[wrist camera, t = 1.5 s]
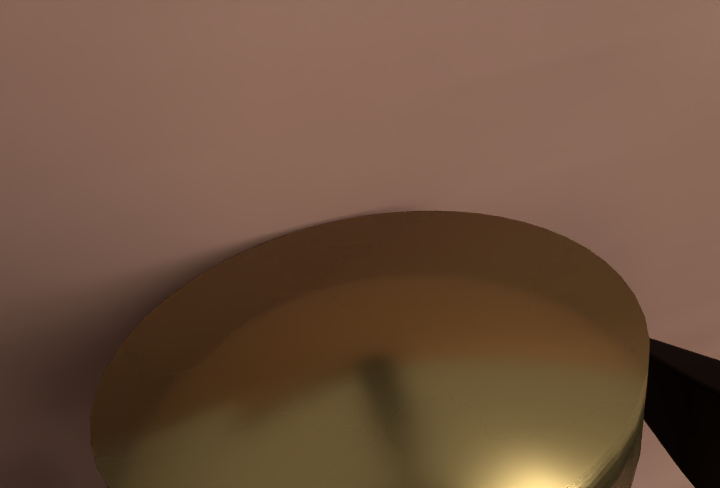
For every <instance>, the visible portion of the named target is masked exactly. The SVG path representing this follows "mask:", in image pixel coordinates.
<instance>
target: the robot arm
mask: <svg viewBox="0 0 720 488" xmlns="http://www.w3.org/2000/svg"><path fill="white" fill-rule="evenodd" d="M649 340H650V347H649V365H648V378H647V388H646V398H645V409H644V420H645V422H646V423H647V425H648V426H649V427H650V429H651V430H652V432H653V433H654V434H655V436H656V437H657V438H658V440H659V441H660V443H661V444H662V445H663V447H664V448H665V450H666V451H667V452H668V454H669V455H670V457H671V458H672V459H673V461H674V462H675V463H676V465H677V466H678V467H679V468H680V470H681V471H682V472H683V474H684V475H685V476H686V477H687V478H688V480H689V481H690V482H691V483H692V484H693V486H694V487H695V488H720V361H719V360H716V359H713V358H710V357H707V356H704V355H701V354H698V353H695V352H692V351H688V350H685V349H682V348H679V347H676V346H673V345H670V344H667V343H664V342H661V341H657V340H654V339H651V338H649Z"/></svg>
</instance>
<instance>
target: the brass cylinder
mask: <svg viewBox="0 0 720 488" xmlns="http://www.w3.org/2000/svg"><path fill="white" fill-rule="evenodd" d="M649 347H650V340H649V335H648V330H647V325H646V320H645V316H644V314H643V312H642V310H641V307H640V305H639V303H638V301H637V299H636V296H635V295H634V293H633V292H632V291H631V289H630V288H629V287H628V285H627V284H626V283H625V281H624V280H623V278H622V277H621V276H620V275H619V274H618V273H617V272H616V271H615V270H614V269H613V268H612V267H610V266H609V265H608V264H607V263H606V262H605V261H604V260H603V259H601V258H600V257H598V256H597V255H595V254H594V253H593V252H591V251H590V250H588V249H587V248H585V247H583V246H582V245H580V244H578V243H576V242H574V241H572V240H570V239H569V238H567V237H564V236H562V235H559V234H557V233H555V232H552V231H550V230H547V229H545V228H541V227H538V226H535V225H532V224H529V223H525V222H521V221H517V220H513V219H508V218H504V217H498V216H492V215H486V214H478V213H468V212H456V211H409V212H394V213H385V214H376V215H369V216H362V217H356V218H350V219H345V220H341V221H336V222H331V223H327V224H323V225H319V226H315V227H311V228H308V229H304V230H301V231H298V232H295V233H291V234H288V235H285V236H282V237H280V238H277V239H274V240H271V241H269V242H266V243H263V244H261V245H259V246H256V247H254V248H252V249H249V250H247V251H245V252H242V253H240V254H238V255H236V256H234V257H232V258H230V259H228V260H226V261H224V262H222V263H220V264H219V265H217V266H215V267H213V268H211V269H210V270H208V271H206V272H204V273H203V274H201V275H200V276H198V277H196V278H195V279H193V280H192V281H190V282H189V283H187V284H186V285H184V286H183V287H181V288H180V289H179V290H177V291H176V292H175V293H173V294H172V295H171V296H169V297H168V298H167V299H165V300H164V301H163V302H162V303H161V304H160V305H158V306H157V307H156V308H155V309H154V310H153V311H152V312H150V313H149V314H148V315H147V316H146V317H145V318H144V319H143V320H142V321H141V322H140V323H139V325H138V326H137V327H136V328H135V329H134V330H133V331H132V332H131V333H130V334H129V336H128V337H127V338H126V340H125V341H124V342H123V343H122V345H121V346H120V347H119V349H118V350H117V351H116V353H115V355H114V356H113V358H112V360H111V361H110V363H109V365H108V366H107V368H106V370H105V371H104V374H103V376H102V379H101V381H100V384H99V386H98V389H97V391H96V394H95V398H94V403H93V408H92V413H91V417H90V424H91V446H92V449H93V453H94V457H95V461H96V465H97V468H98V470H99V472H100V474H101V475H102V477H103V479H104V481H105V482H106V484H107V486H108V488H631V486H632V482H633V478H634V475H635V471H636V467H637V464H638V460H639V456H640V450H641V440H642V429H643V419H644V409H645V398H646V388H647V378H648V365H649Z"/></svg>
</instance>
